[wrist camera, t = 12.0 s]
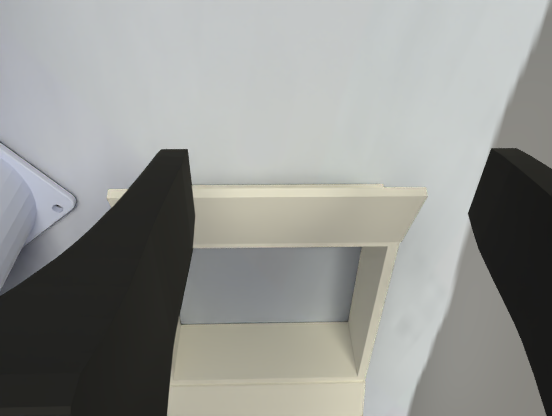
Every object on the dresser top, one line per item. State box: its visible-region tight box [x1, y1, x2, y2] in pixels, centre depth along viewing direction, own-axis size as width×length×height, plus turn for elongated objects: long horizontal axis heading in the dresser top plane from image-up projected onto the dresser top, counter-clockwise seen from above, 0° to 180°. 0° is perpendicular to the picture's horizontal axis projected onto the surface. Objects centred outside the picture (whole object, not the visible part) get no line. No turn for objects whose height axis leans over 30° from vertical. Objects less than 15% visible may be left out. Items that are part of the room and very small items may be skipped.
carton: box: [107, 184, 428, 416], centre depth 27 cm, size 20×12×6 cm, turn 179°
